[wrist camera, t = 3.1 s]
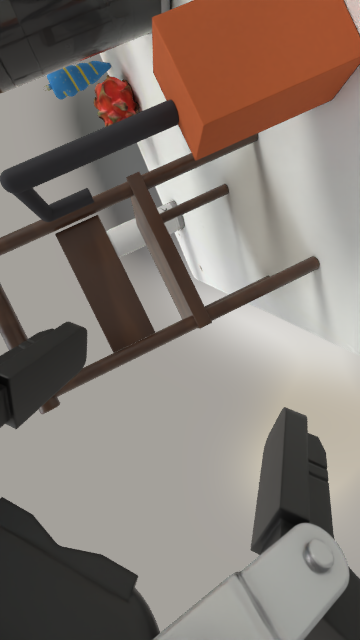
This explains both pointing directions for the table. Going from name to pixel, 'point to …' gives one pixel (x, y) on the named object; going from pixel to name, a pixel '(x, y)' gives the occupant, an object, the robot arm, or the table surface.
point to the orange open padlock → (215, 83)
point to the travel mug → (130, 237)
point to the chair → (112, 281)
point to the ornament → (75, 78)
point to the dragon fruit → (114, 100)
